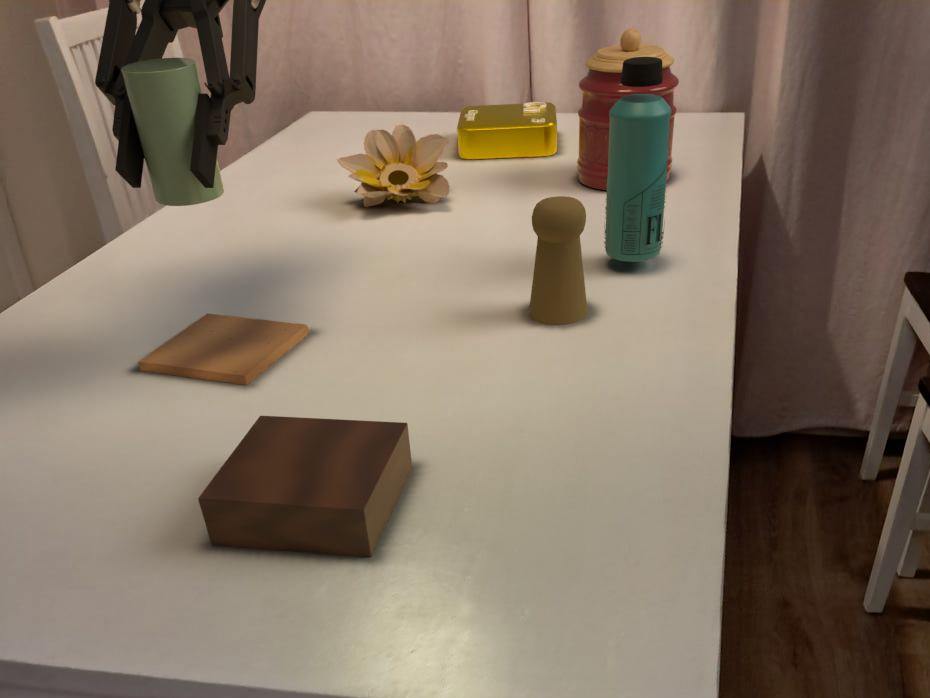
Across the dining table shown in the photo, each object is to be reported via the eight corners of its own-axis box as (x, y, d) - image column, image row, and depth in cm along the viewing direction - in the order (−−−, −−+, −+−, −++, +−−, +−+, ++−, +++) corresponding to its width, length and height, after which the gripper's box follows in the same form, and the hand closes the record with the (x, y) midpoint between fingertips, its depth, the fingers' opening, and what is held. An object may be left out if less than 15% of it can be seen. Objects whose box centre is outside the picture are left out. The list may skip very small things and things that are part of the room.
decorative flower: (332, 209, 118) (328, 119, 114) (342, 204, 128) (338, 122, 124) (449, 211, 119) (449, 122, 114) (449, 207, 129) (450, 125, 124)
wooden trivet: (140, 371, 89) (137, 361, 88) (209, 322, 97) (207, 312, 97) (247, 386, 85) (244, 375, 85) (309, 333, 94) (307, 324, 93)
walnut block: (211, 545, 66) (197, 498, 64) (270, 459, 75) (260, 415, 72) (371, 557, 64) (363, 509, 62) (412, 468, 73) (407, 422, 70)
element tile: (463, 135, 150) (461, 102, 147) (555, 131, 150) (555, 98, 146) (457, 161, 139) (455, 125, 136) (557, 156, 138) (557, 121, 135)
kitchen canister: (572, 193, 125) (574, 39, 113) (581, 166, 134) (584, 21, 122) (669, 193, 122) (682, 36, 111) (672, 165, 132) (684, 18, 120)
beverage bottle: (647, 279, 100) (662, 66, 87) (591, 270, 103) (598, 62, 90) (670, 260, 104) (688, 53, 91) (617, 251, 107) (626, 50, 94)
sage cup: (141, 204, 81) (105, 71, 74) (181, 183, 85) (150, 57, 78) (199, 208, 79) (167, 73, 72) (237, 187, 83) (209, 57, 76)
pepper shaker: (590, 324, 92) (594, 207, 85) (530, 326, 92) (528, 211, 85) (584, 300, 97) (588, 188, 89) (527, 303, 97) (525, 191, 89)
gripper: (316, -54, 81) (288, 203, 79) (118, -45, 84) (88, 202, 83) (283, -130, 73) (252, 152, 72) (67, -117, 76) (34, 153, 75)
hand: (164, 178), depth 77 cm, fingers closed on sage cup, 6 cm apart
